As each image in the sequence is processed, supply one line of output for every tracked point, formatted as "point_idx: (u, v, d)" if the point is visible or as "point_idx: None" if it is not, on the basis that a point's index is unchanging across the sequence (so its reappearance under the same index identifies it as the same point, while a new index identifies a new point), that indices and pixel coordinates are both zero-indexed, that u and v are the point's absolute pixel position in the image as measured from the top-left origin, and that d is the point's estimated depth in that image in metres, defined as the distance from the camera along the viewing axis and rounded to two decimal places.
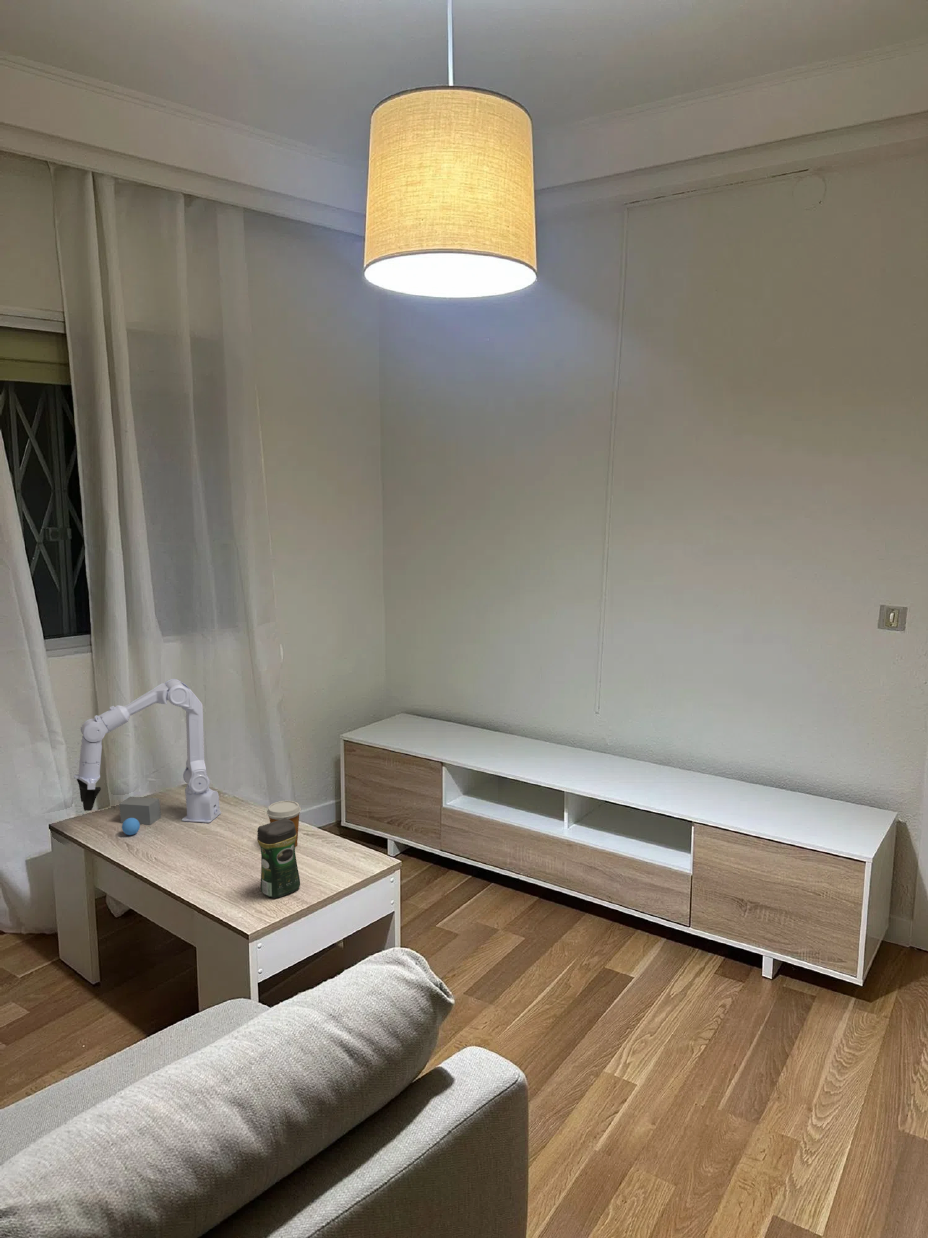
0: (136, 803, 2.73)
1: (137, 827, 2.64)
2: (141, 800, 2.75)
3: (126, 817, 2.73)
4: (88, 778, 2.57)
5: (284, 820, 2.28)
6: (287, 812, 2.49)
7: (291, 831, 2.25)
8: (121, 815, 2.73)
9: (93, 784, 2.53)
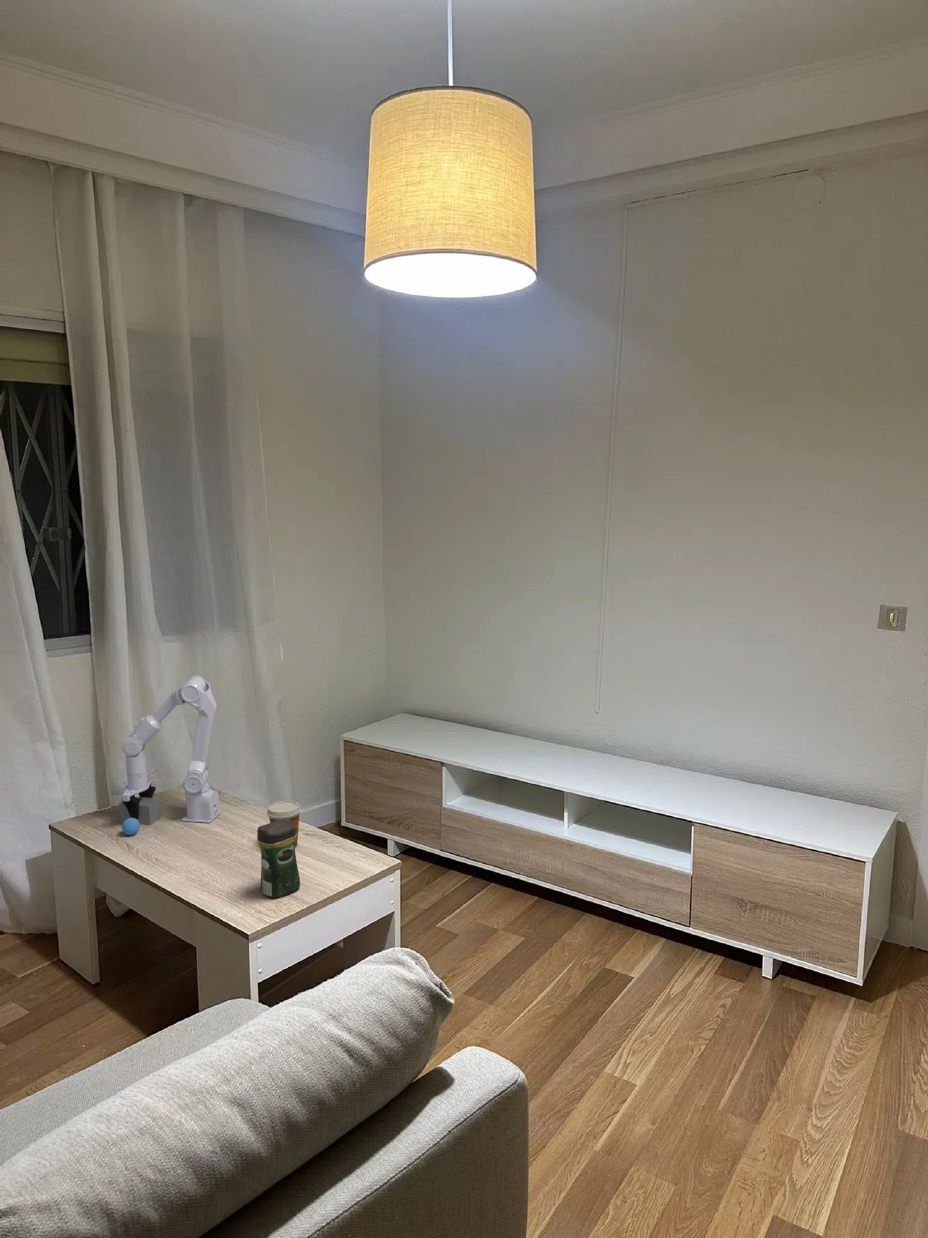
0: None
1: (137, 827, 2.64)
2: (141, 800, 2.75)
3: (126, 817, 2.73)
4: (131, 789, 2.71)
5: (284, 820, 2.28)
6: (287, 812, 2.49)
7: (291, 831, 2.25)
8: (121, 815, 2.73)
9: (126, 796, 2.67)
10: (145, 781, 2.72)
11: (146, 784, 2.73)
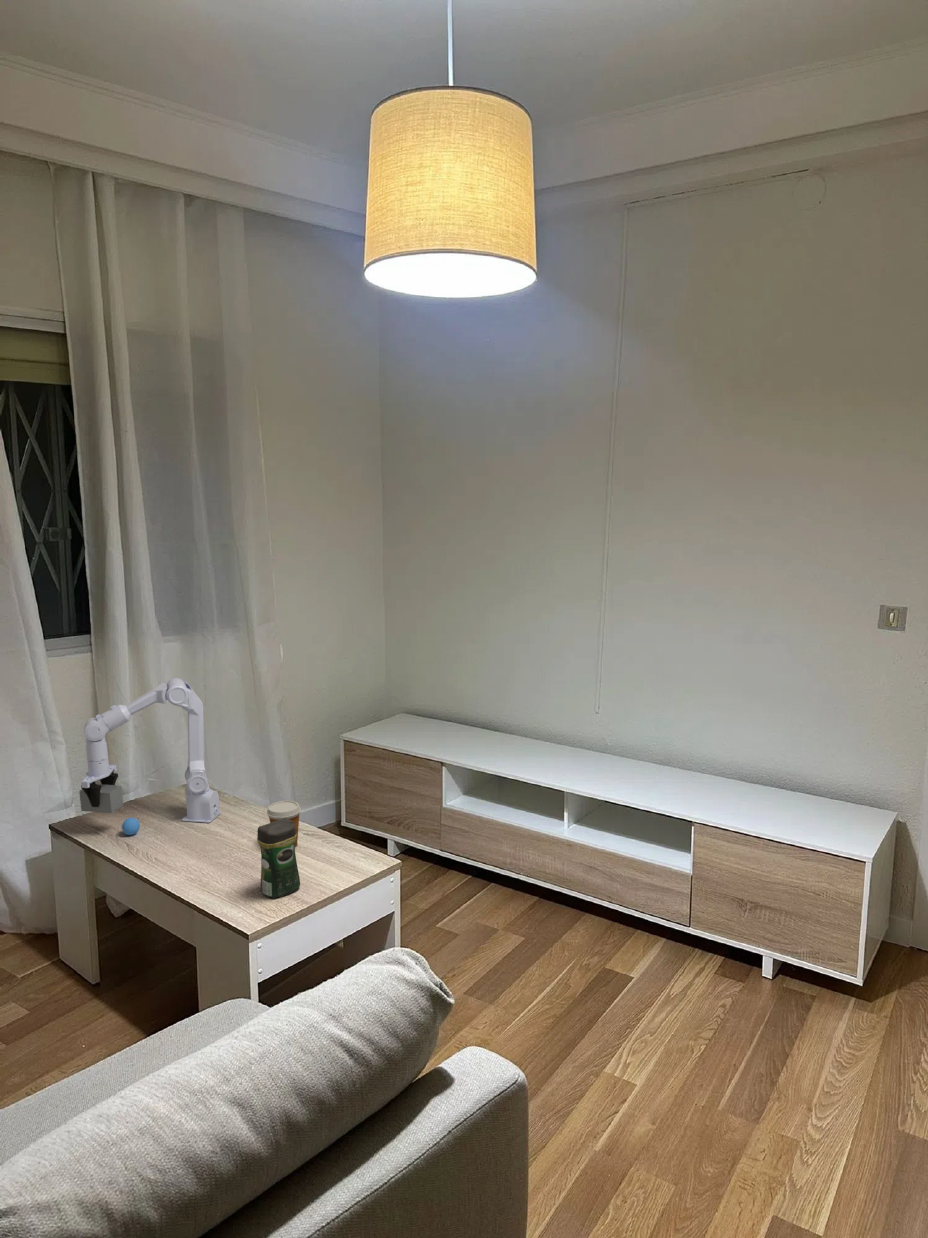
0: None
1: (137, 827, 2.64)
2: (102, 787, 2.65)
3: (86, 805, 2.63)
4: (91, 776, 2.61)
5: (284, 820, 2.28)
6: (287, 812, 2.49)
7: (291, 831, 2.25)
8: (81, 803, 2.64)
9: (85, 783, 2.57)
10: (106, 767, 2.63)
11: (107, 770, 2.63)
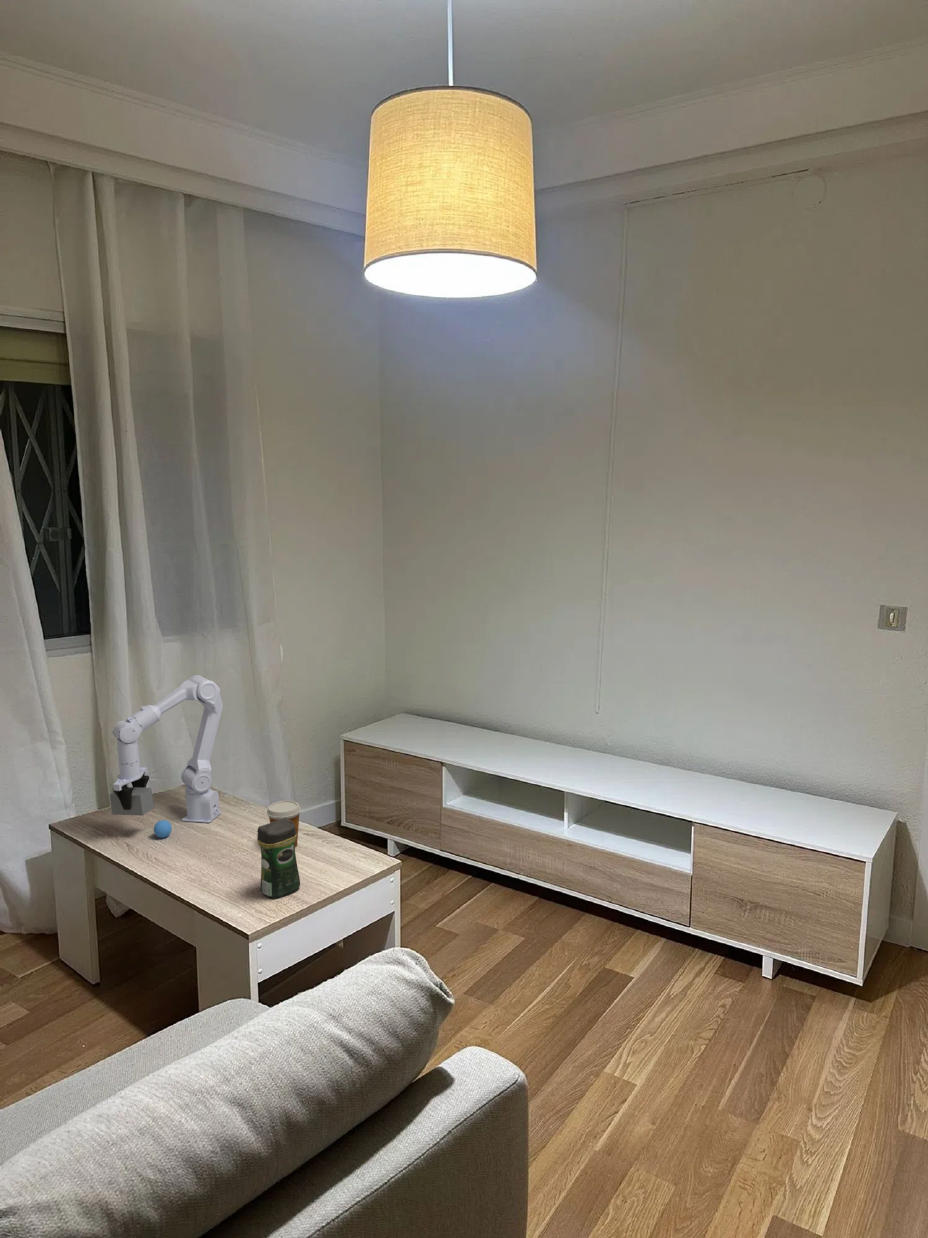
0: None
1: (157, 822, 2.62)
2: None
3: (117, 808, 2.61)
4: (123, 778, 2.59)
5: (284, 820, 2.28)
6: (287, 812, 2.49)
7: (291, 831, 2.25)
8: (112, 806, 2.62)
9: (117, 785, 2.55)
10: (138, 770, 2.61)
11: (139, 773, 2.61)
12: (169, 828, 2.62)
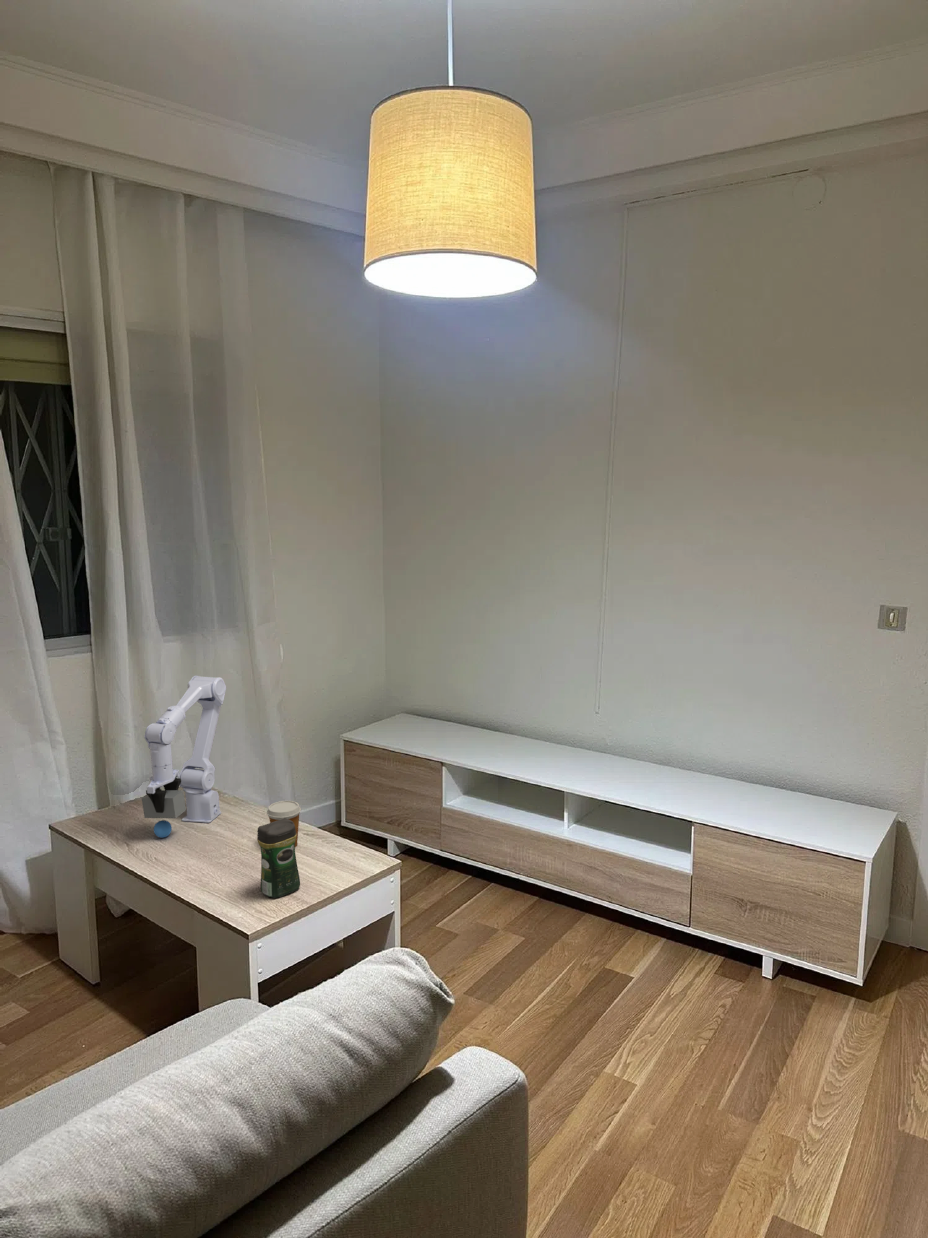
0: None
1: (157, 822, 2.62)
2: None
3: (149, 811, 2.59)
4: (156, 781, 2.57)
5: (284, 820, 2.28)
6: (287, 812, 2.49)
7: (291, 831, 2.25)
8: (144, 810, 2.59)
9: (151, 788, 2.52)
10: (171, 772, 2.58)
11: (172, 776, 2.59)
12: (169, 828, 2.62)
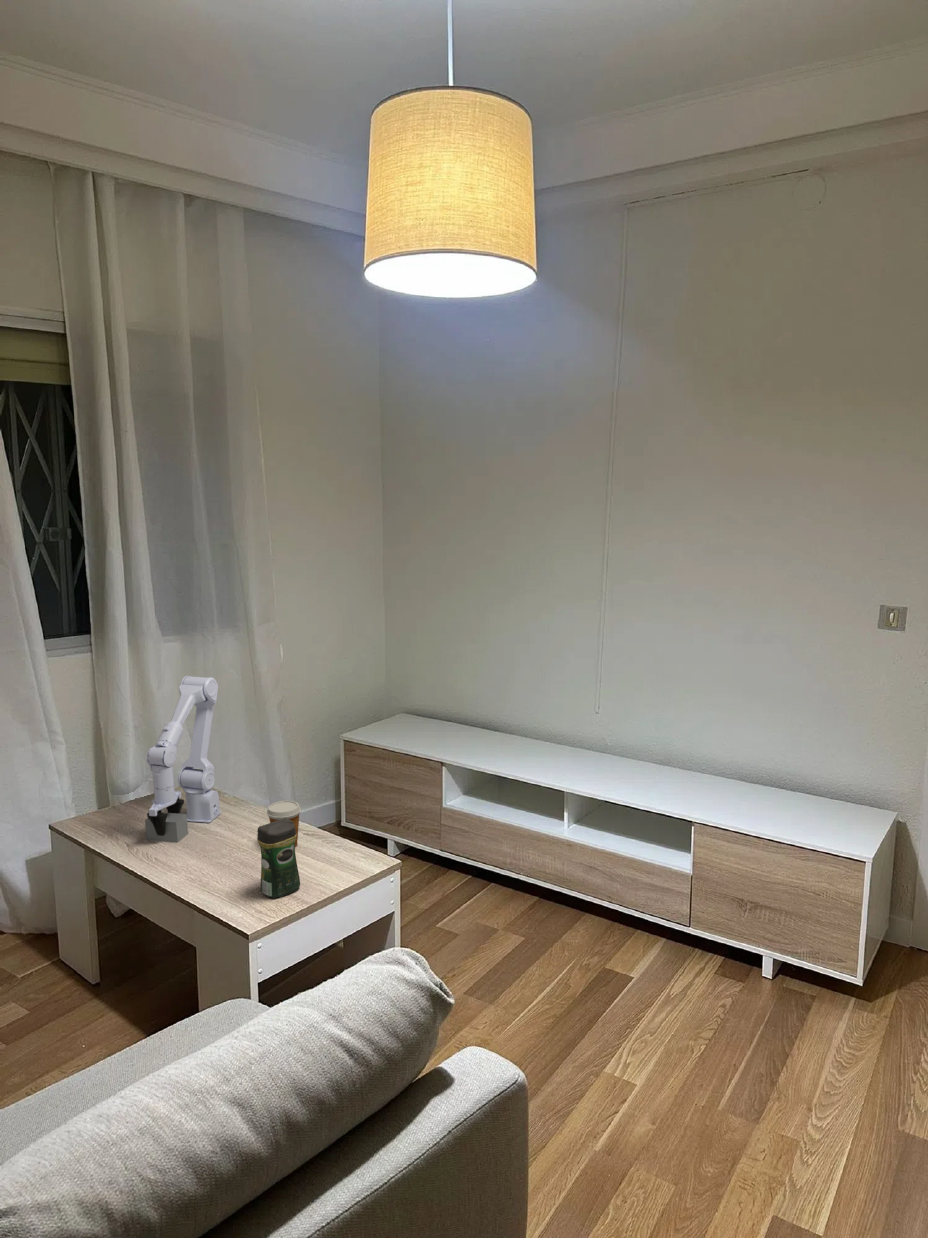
0: None
1: None
2: (167, 816, 2.62)
3: (152, 834, 2.60)
4: (158, 804, 2.58)
5: (284, 820, 2.28)
6: (287, 812, 2.49)
7: (291, 831, 2.25)
8: (147, 832, 2.61)
9: (153, 811, 2.54)
10: (173, 795, 2.60)
11: (174, 798, 2.60)
12: None
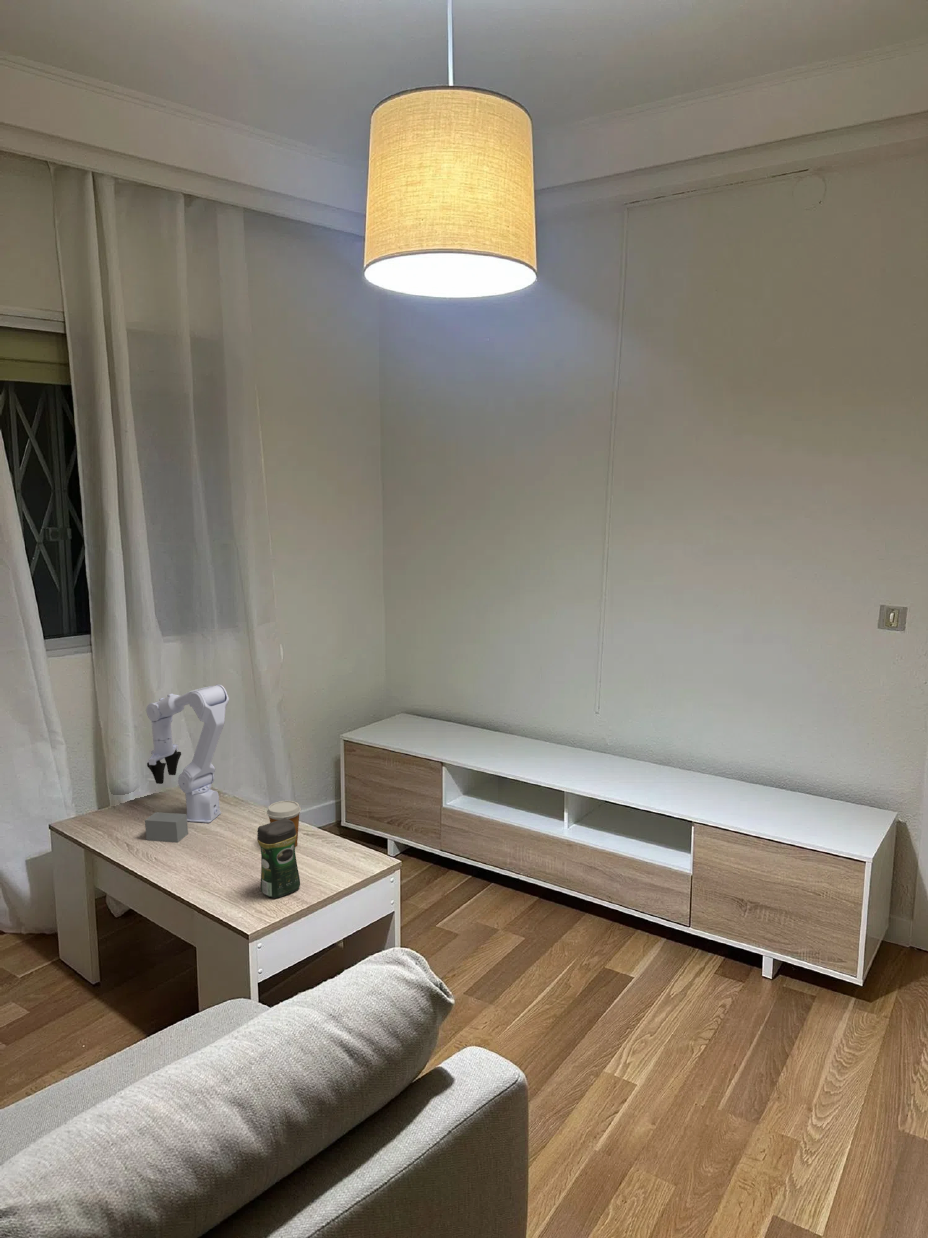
0: (162, 819, 2.60)
1: None
2: (167, 816, 2.62)
3: (152, 834, 2.60)
4: (157, 754, 2.79)
5: (284, 820, 2.28)
6: (287, 812, 2.49)
7: (291, 831, 2.25)
8: (147, 832, 2.61)
9: (152, 760, 2.75)
10: (171, 746, 2.81)
11: (172, 749, 2.82)
12: None
